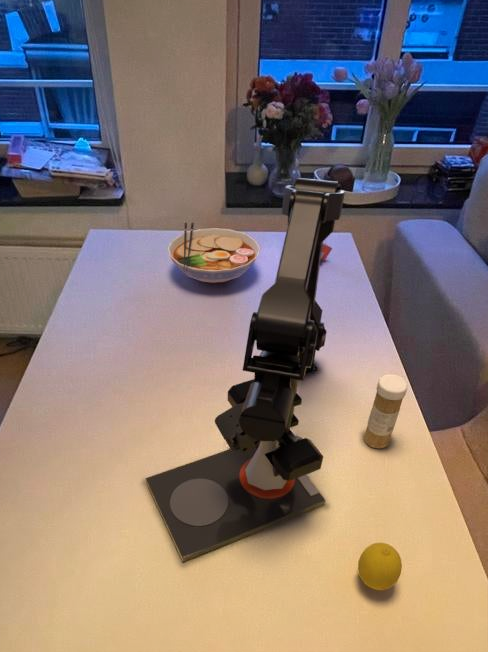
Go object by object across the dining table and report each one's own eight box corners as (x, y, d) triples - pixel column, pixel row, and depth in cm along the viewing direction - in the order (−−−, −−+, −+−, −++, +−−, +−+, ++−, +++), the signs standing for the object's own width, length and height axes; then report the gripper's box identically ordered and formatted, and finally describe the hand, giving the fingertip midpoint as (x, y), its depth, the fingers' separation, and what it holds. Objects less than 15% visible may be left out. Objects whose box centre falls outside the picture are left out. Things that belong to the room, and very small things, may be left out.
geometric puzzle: (338, 249, 140) (323, 224, 137) (334, 261, 135) (319, 235, 132) (315, 261, 144) (300, 236, 141) (310, 273, 140) (295, 248, 136)
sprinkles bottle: (378, 428, 95) (395, 370, 86) (394, 444, 92) (414, 386, 83) (357, 435, 94) (373, 377, 84) (373, 453, 91) (391, 394, 81)
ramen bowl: (260, 301, 125) (262, 270, 120) (164, 300, 125) (162, 269, 120) (257, 252, 143) (258, 223, 138) (173, 251, 143) (171, 222, 138)
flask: (287, 494, 82) (292, 451, 75) (241, 487, 83) (242, 444, 76) (292, 460, 87) (297, 416, 80) (248, 454, 88) (250, 410, 81)
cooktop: (274, 438, 93) (275, 432, 92) (324, 504, 83) (325, 499, 82) (146, 482, 86) (145, 476, 85) (182, 562, 75) (182, 556, 74)
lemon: (349, 565, 75) (359, 533, 69) (386, 562, 75) (400, 530, 70) (359, 601, 71) (371, 571, 65) (399, 598, 71) (414, 568, 66)
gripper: (195, 365, 76) (198, 439, 87) (255, 453, 64) (250, 526, 74) (263, 345, 79) (258, 419, 90) (332, 425, 67) (316, 499, 78)
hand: (268, 463), depth 83 cm, fingers closed on flask, 5 cm apart
